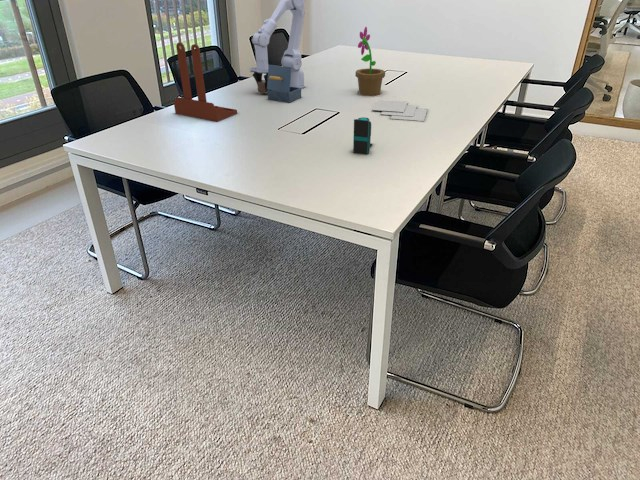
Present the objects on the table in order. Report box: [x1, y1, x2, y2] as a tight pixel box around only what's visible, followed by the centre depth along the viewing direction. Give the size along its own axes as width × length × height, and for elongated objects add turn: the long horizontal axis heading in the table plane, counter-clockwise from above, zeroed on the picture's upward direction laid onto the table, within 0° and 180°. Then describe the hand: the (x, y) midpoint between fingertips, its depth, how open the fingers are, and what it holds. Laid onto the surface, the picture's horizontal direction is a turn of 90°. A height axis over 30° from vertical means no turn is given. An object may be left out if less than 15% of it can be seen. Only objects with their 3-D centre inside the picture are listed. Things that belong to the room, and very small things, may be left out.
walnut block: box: [256, 79, 268, 94], centre depth 243 cm, size 4×4×5 cm
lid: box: [267, 64, 291, 92], centre depth 228 cm, size 11×12×4 cm
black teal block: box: [352, 116, 373, 155], centre depth 175 cm, size 6×12×10 cm
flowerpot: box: [355, 26, 386, 97], centre depth 236 cm, size 14×14×30 cm
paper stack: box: [371, 99, 428, 122], centre depth 217 cm, size 23×25×1 cm
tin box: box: [267, 87, 302, 104], centre depth 236 cm, size 10×12×4 cm
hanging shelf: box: [173, 42, 238, 123], centre depth 210 cm, size 24×13×30 cm, turn 59°
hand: (264, 88), depth 243 cm, fingers closed on walnut block, 4 cm apart
